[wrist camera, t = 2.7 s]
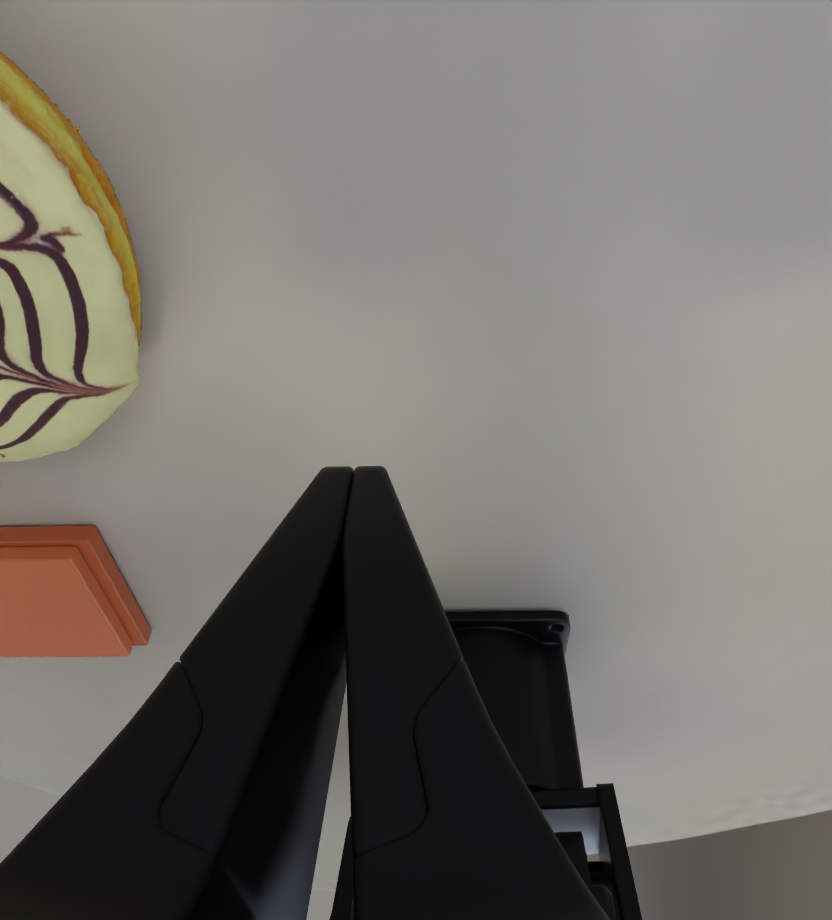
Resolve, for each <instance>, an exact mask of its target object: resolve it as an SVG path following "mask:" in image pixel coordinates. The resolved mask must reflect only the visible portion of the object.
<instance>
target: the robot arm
mask: <svg viewBox="0 0 832 920" xmlns="http://www.w3.org/2000/svg"><path fill="white" fill-rule="evenodd" d="M569 632H570V623H569V616H568V615H567V614H566V613H564V612H561V611H491V612H444V609H443V607H442V604H441V602H440V599H439V597H438V595H437V592H436V590H435V587H434V585H433V582H432V580H431V578H430V575H429V573H428V570H427V568H426V565H425V563H424V561H423V558H422V556H421V553H420V551H419V548H418V546H417V544H416V541H415V539H414V536H413V534H412V531H411V529H410V527H409V524H408V522H407V519H406V517H405V514H404V512H403V510H402V507H401V505H400V502H399V500H398V497H397V495H396V493H395V490H394V488H393V485H392V483H391V480H390V478H389V476H388V473H387V471H386V469H385V468H384V467H382V466H359V467H356V468H355V470H353V469H352V468H351V467H348V466H347V467H325V468H323V469H321V470H320V472H319V473H318V474H317V476H316V477H315V478H314V480H313V481H312V482H311V484H310V485H309V486H308V488H307V489H306V490H305V492H304V493H303V494H302V496H301V497H300V498H299V500H298V501H297V502H296V504H295V505H294V506H293V508H292V509H291V510H290V512H289V513H288V514H287V516H286V517H285V518H284V520H283V521H282V522H281V524H280V525H279V526H278V527H277V529H276V530H275V531H274V533H273V534H272V535H271V537H270V538H269V539H268V541H267V542H266V543H265V545H264V546H263V547H262V549H261V550H260V551H259V553H258V554H257V555H256V557H255V558H254V559H253V561H252V562H251V563H250V565H249V566H248V567H247V569H246V570H245V571H244V573H243V574H242V575H241V577H240V578H239V579H238V581H237V582H236V583H235V585H234V586H233V587H232V589H231V590H230V591H229V593H228V594H227V595H226V597H225V598H224V599H223V601H222V602H221V603H220V605H219V606H218V607H217V609H216V610H215V611H214V613H213V614H212V615H211V616H210V618H209V619H208V620H207V622H206V623H205V624H204V626H203V627H202V628H201V630H200V631H199V632H198V634H197V635H196V636H195V638H194V639H193V640H192V642H191V643H190V644H189V646H188V647H187V648H186V650H185V651H184V652H183V654H182V655H181V656H180V661H181V663H180V662H176V663H175V664H174V665H173V666H172V668H171V669H170V670H169V672H168V673H167V674H166V676H165V677H164V679H163V680H162V681H161V683H160V684H159V685H158V686H157V688H156V689H155V690H154V692H153V693H152V694H151V695H150V697H149V698H148V699H147V700H146V702H145V703H144V704H143V705H142V707H141V708H140V709H139V710H138V712H137V713H136V714H135V715H134V717H133V718H132V719H131V720H130V722H129V723H128V724H127V725H126V726H125V727H124V729H123V730H122V731H121V732H120V733H119V734H118V735H117V737H116V738H115V739H114V740H113V741H112V742H111V743H110V744H109V746H108V747H107V748H106V749H105V750H104V751H103V752H102V754H101V755H100V756H99V757H98V758H97V759H96V760H95V761H94V763H93V764H92V765H91V766H90V767H89V768H88V769H87V770H86V771H85V772H84V773H83V775H82V776H81V777H80V778H79V779H78V780H77V781H76V782H75V783H74V784H73V785H72V786H71V788H70V789H69V790H68V791H67V792H66V793H65V794H64V795H63V796H62V797H61V798H60V800H59V801H58V802H57V803H56V804H55V805H54V806H53V807H52V808H51V809H50V810H49V811H48V813H47V814H46V815H45V816H44V817H43V818H42V819H41V820H40V821H39V822H38V823H37V825H36V826H35V827H34V828H33V829H32V830H31V831H30V832H29V833H28V834H27V835H26V836H25V838H24V839H23V840H22V841H21V842H20V843H19V844H18V845H17V846H16V848H14V849H13V851H12V852H11V853H10V854H9V855H8V856H7V857H6V858H5V859H4V860H3V861H2V862H1V863H0V920H306V918H307V912H308V905H309V900H310V894H311V888H312V882H313V876H314V870H315V864H316V858H317V853H318V847H319V841H320V835H321V829H322V823H323V817H324V811H325V805H326V799H327V793H328V787H329V781H330V776H331V770H332V764H333V758H334V752H335V746H336V740H337V734H338V728H339V722H340V716H341V710H342V704H343V699H344V693H345V687H346V681H347V704H348V734H349V764H350V794H351V817H350V820H349V822H348V827H347V832H346V838H345V843H344V849H343V854H342V860H341V865H340V870H339V876H338V881H337V887H336V892H335V898H334V903H333V909H332V913H331V916H330V919H329V920H642V917H641V913H640V908H639V903H638V898H637V893H636V889H635V884H634V879H633V875H632V871H631V865H630V861H629V856H628V851H627V847H626V842H625V837H624V833H623V828H622V823H621V819H620V814H619V809H618V805H617V800H616V795H615V790H614V786H613V783H611V784H596V787H589V788H584V786H583V780H582V773H581V766H580V759H579V752H578V745H577V739H576V732H575V725H574V718H573V711H572V705H571V698H570V691H569V684H568V677H567V670H566V664H565V652H566V647H567V642H568V637H569ZM592 853H599V858H600V861H596V862H588V861H587V855H586V854H592Z"/></svg>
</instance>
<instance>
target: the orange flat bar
mask: <svg viewBox="0 0 832 920" xmlns="http://www.w3.org/2000/svg"><path fill="white" fill-rule="evenodd" d="M150 634H151V629H150V627H149V625H148V623H147V621H146V619H145V617H144V616H143V614H142V612H141V610H140V608H139V606H138V604H137V603H136V601H135V599H134V597H133V595H132V593H131V591H130V590H129V588H128V586H127V584H126V582H125V580H124V578H123V577H122V575H121V573H120V571H119V569H118V567H117V565H116V564H115V562H114V560H113V558H112V556H111V554H110V552H109V551H108V549H107V547H106V545H105V543H104V541H103V539H102V538H101V536H100V534H99V532H98V530H97V528H96V526H15V527H0V657H112V656H129V655H130V652H131V649H132V646H137V645H147V643H148V640H149V637H150Z"/></svg>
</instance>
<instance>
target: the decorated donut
mask: <svg viewBox="0 0 832 920" xmlns="http://www.w3.org/2000/svg"><path fill="white" fill-rule="evenodd" d="M78 130H79V127H73V126H72V125H71V120H70V119H67V118H65V116H64V115H63V114H62V113H61V112H60V111H59V109H58V105H55V104H53V103H52V102H51V101H50V100H49V98H48V96H47V95H46V94H45V92H44V91H43V90H42V89H40V88H39V87H38V86H37V84H36V83H35V82H33V81H31V80H30V79H29V78H28V76H27V75H26V74H25V73H24V72H23V71H22V70H21V69H20V68H19V67H18V66H17V65H16V64H15V63H14V62H13V61H12V60H10V59H9V58H8V57H6V55H4V54H3V53H1V52H0V462H15V461H23V460H29V459H34V458H40V457H44V456H47V455H49V454H52V453H55V452H62V451H66V450H69V449H71V448H73V447H75V446H77V445H79V444H80V443H81V442H82V441H84V440H85V439H87V438H88V437H89V436H90V435H91V434H92V433H93V431H94V430H95V429H96V428H98V427H99V426H100V425H102V424H103V423H104V422H105V421H107V420H108V419H109V417H110V416H111V415H112V414H113V413H114V412H115V411H116V410H117V409H118V408H119V407H120V406H121V405H122V404H123V403H125V401H126V400H127V399H128V398H129V397H130V396H131V395H132V394H133V392H134V391H135V389H136V387H137V385H138V383H139V381H140V375H139V372H138V370H139V366H138V354H139V346H140V337H141V336H140V334H141V329H142V319H141V297H140V275H139V269H138V264H137V260H136V256H135V253H134V249H133V246H132V240H131V237H130V235H129V231H128V228H127V225H126V219H125V216H124V212H123V210H122V209H121V207H120V204H119V202H118V199H117V197H116V195H115V193H114V188H113V186H112V184H111V183H110V181H109V179H108V177H107V175H106V173H105V171H104V170H103V168H102V166H101V165H100V163H99V162H98V160H97V159H95V158H94V157H93V155H92V152H91V150H90V149H89V148H88V146H87V145H86V144H85V142H84V141H83V139H82V137H81V136H80V135H79V133H78Z"/></svg>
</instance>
